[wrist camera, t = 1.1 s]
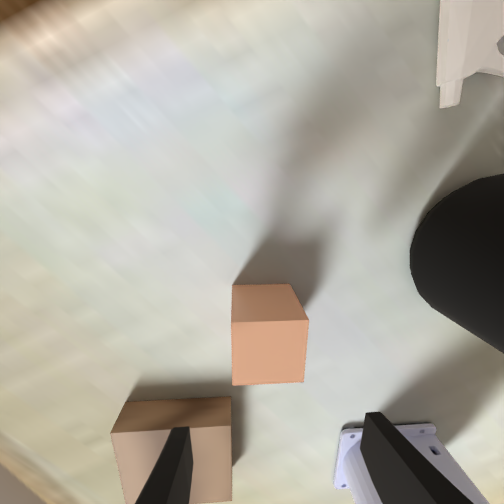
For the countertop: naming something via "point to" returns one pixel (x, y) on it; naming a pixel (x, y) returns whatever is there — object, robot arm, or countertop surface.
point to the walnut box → (156, 433)
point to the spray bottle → (467, 44)
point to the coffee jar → (465, 258)
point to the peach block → (267, 335)
